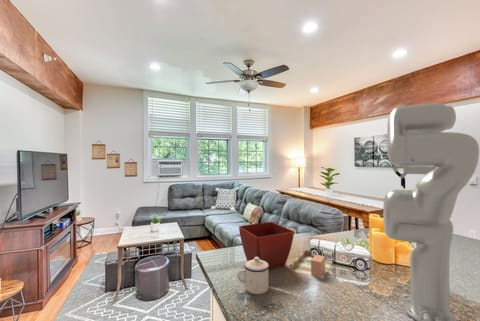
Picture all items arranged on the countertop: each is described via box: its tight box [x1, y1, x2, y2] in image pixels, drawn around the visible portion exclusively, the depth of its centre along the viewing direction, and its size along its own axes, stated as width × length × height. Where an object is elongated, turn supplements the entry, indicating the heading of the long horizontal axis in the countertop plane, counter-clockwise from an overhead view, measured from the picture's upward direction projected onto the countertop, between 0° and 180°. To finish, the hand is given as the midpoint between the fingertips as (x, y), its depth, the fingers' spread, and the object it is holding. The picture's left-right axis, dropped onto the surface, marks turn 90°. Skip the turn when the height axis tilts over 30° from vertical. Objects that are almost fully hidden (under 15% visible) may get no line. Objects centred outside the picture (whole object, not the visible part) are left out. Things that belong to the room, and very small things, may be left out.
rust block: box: [310, 255, 325, 278], centre depth 102 cm, size 7×4×6 cm, turn 148°
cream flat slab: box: [289, 249, 333, 279], centre depth 109 cm, size 21×14×3 cm, turn 148°
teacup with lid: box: [236, 257, 270, 295], centre depth 91 cm, size 12×9×12 cm
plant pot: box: [238, 221, 295, 271], centre depth 111 cm, size 19×19×17 cm
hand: (418, 188), depth 94 cm, fingers open, 9 cm apart
